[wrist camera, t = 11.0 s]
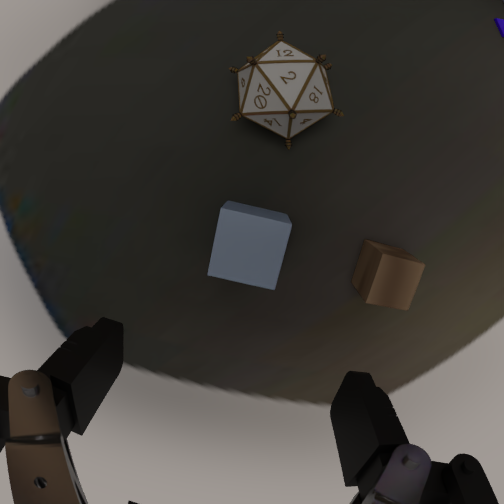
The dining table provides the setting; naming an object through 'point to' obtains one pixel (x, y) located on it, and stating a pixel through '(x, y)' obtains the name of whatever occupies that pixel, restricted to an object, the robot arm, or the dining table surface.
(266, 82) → the game die
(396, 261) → the walnut block
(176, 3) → the dining table surface
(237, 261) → the blue block
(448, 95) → the dining table surface
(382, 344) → the dining table surface
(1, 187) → the dining table surface
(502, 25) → the building block set
